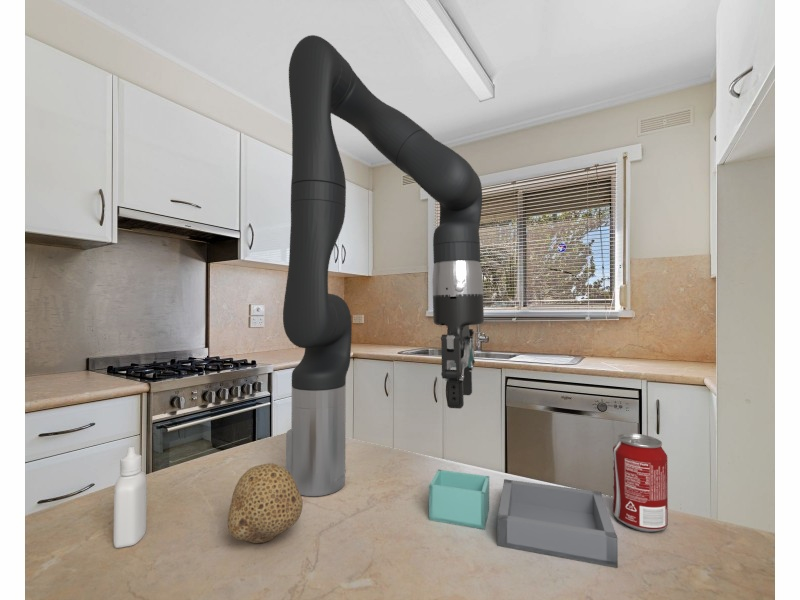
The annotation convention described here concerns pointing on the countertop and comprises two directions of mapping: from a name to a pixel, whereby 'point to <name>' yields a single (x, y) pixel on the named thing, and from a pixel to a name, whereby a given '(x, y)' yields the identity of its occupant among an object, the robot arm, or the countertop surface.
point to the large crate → (557, 522)
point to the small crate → (459, 499)
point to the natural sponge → (264, 504)
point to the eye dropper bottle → (130, 501)
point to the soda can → (640, 482)
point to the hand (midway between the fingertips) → (460, 400)
